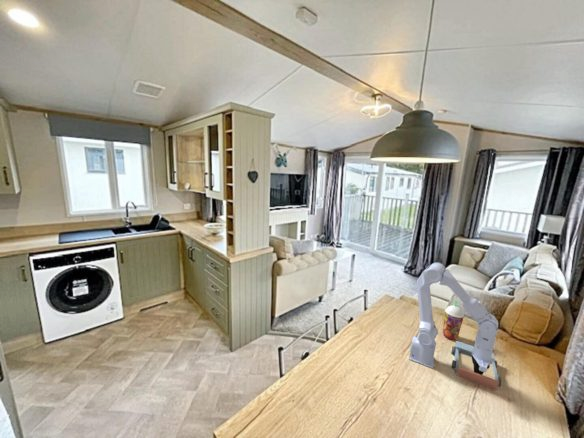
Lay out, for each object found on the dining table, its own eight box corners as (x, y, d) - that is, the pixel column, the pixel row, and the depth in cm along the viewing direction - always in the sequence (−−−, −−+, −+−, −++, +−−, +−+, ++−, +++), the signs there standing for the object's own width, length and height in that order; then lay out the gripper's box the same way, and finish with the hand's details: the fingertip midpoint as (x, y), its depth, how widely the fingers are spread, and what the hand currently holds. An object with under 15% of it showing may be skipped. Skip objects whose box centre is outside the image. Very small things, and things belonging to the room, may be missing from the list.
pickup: (451, 371, 108) (453, 361, 108) (451, 349, 123) (453, 339, 122) (500, 390, 100) (503, 378, 99) (494, 363, 115) (496, 353, 114)
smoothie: (454, 332, 136) (460, 298, 132) (462, 343, 128) (470, 306, 124) (437, 331, 137) (443, 296, 133) (445, 341, 129) (452, 304, 125)
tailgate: (456, 374, 107) (458, 368, 104) (456, 373, 107) (458, 366, 104) (495, 390, 100) (499, 383, 97) (495, 388, 100) (499, 381, 97)
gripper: (499, 361, 91) (492, 393, 94) (494, 339, 104) (487, 369, 106) (475, 353, 95) (469, 384, 98) (472, 333, 107) (467, 361, 110)
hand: (477, 376), depth 102 cm, fingers closed, pressing on tailgate
